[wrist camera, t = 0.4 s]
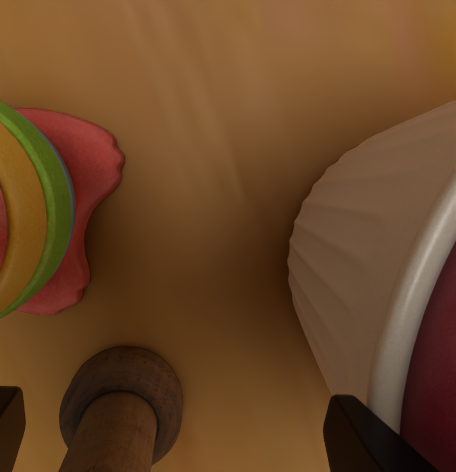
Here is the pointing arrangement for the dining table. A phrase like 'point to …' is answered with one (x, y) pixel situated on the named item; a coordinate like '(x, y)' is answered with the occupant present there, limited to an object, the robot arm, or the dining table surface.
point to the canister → (386, 279)
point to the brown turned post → (120, 412)
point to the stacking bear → (49, 205)
